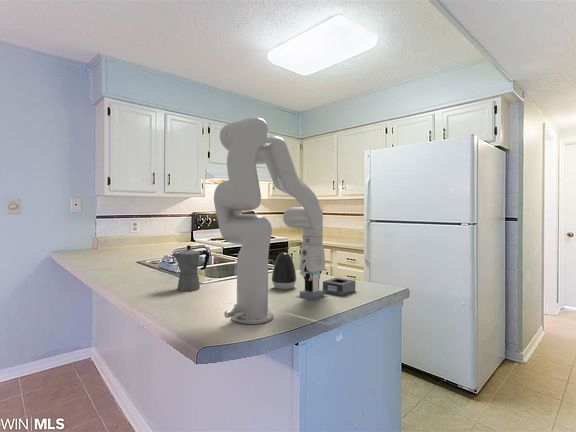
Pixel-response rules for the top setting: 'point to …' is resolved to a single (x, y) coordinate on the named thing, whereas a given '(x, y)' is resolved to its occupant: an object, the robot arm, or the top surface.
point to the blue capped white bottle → (314, 282)
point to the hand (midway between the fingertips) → (312, 289)
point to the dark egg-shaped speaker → (284, 272)
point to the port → (339, 286)
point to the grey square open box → (312, 295)
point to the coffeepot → (189, 268)
